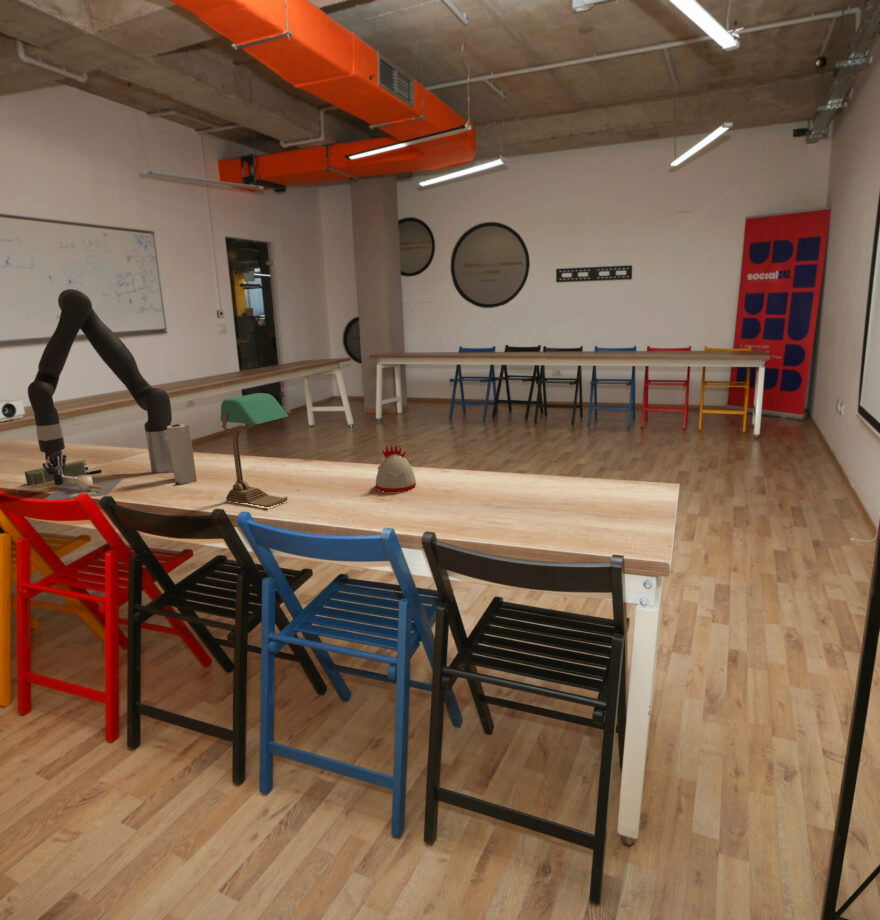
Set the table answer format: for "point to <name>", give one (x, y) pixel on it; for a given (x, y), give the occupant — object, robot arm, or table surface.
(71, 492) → the gauge board
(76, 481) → the lever with orange pointer
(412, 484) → the beige knit hat
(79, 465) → the handheld radio
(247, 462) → the table surface
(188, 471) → the paper towel roll
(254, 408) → the banker's lamp
